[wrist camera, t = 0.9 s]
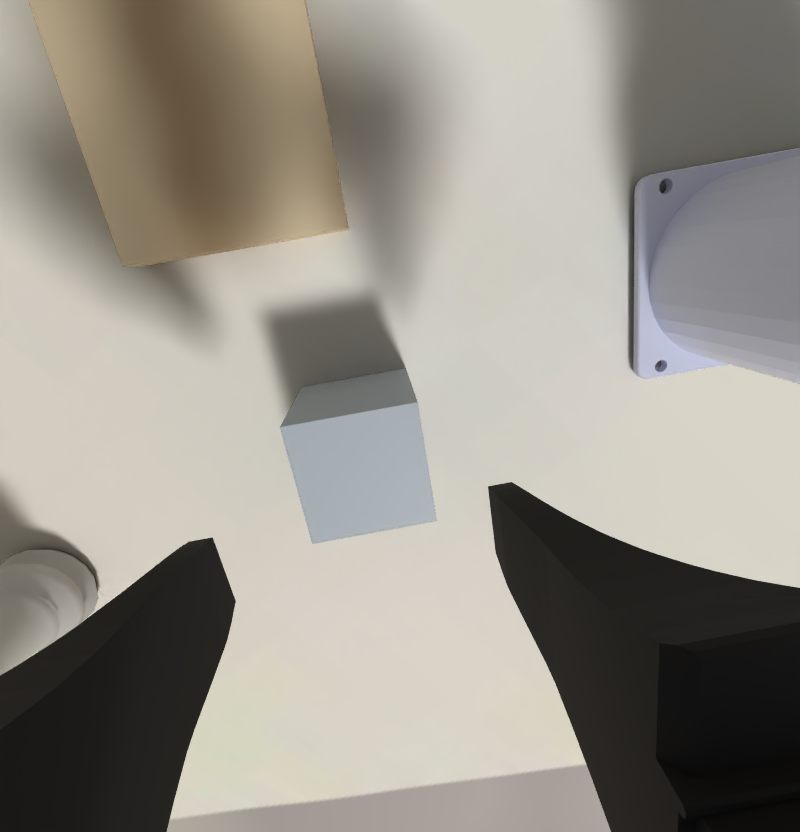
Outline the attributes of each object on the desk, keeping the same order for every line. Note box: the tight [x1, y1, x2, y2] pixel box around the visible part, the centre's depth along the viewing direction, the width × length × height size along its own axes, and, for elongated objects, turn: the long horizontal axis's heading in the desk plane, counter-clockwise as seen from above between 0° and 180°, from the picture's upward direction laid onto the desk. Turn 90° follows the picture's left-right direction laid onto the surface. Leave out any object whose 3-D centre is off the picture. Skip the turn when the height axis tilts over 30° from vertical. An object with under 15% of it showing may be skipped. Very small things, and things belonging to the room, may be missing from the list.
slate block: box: [280, 368, 437, 544], centre depth 18 cm, size 4×4×5 cm
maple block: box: [28, 0, 349, 266], centre depth 15 cm, size 8×8×2 cm
